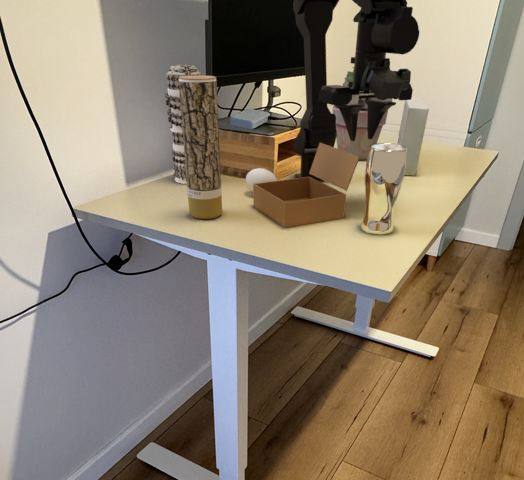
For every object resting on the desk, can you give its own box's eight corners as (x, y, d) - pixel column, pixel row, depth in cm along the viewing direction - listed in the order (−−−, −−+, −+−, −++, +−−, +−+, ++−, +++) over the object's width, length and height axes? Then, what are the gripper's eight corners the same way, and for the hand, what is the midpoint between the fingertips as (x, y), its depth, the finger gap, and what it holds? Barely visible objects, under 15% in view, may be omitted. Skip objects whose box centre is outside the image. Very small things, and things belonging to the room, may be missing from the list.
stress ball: (278, 208, 115) (287, 181, 115) (264, 196, 108) (274, 167, 108) (251, 202, 119) (260, 175, 118) (235, 189, 111) (245, 161, 111)
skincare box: (417, 176, 127) (429, 108, 118) (396, 175, 128) (406, 107, 119) (413, 157, 144) (423, 97, 135) (394, 156, 145) (403, 96, 136)
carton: (253, 206, 106) (253, 183, 104) (308, 198, 111) (309, 176, 109) (284, 227, 96) (285, 203, 93) (343, 217, 100) (346, 194, 98)
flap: (319, 142, 106) (320, 142, 106) (309, 173, 108) (310, 173, 108) (358, 156, 95) (360, 156, 95) (345, 190, 97) (346, 191, 98)
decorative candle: (169, 176, 126) (157, 64, 112) (204, 173, 129) (197, 63, 115) (177, 186, 119) (166, 67, 105) (214, 182, 122) (208, 66, 108)
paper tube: (209, 222, 98) (200, 79, 84) (182, 216, 101) (170, 77, 87) (228, 213, 103) (223, 76, 89) (203, 207, 106) (194, 74, 92)
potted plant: (310, 159, 142) (315, 59, 128) (341, 147, 156) (349, 55, 142) (367, 168, 134) (379, 62, 120) (395, 154, 147) (409, 58, 133)
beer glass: (356, 222, 98) (365, 142, 90) (391, 223, 98) (404, 142, 90) (361, 235, 92) (371, 150, 84) (398, 235, 92) (412, 151, 84)
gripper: (353, 55, 83) (345, 152, 92) (439, 52, 90) (423, 143, 99) (319, 51, 92) (314, 141, 100) (400, 49, 98) (388, 133, 107)
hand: (361, 140), depth 101 cm, fingers open, 4 cm apart
